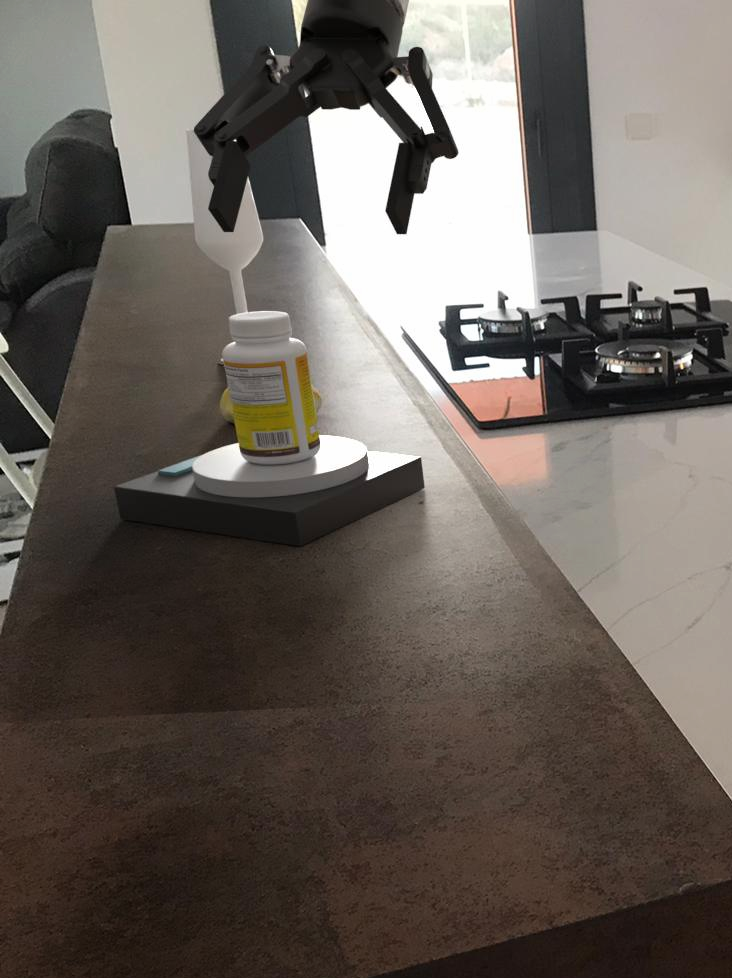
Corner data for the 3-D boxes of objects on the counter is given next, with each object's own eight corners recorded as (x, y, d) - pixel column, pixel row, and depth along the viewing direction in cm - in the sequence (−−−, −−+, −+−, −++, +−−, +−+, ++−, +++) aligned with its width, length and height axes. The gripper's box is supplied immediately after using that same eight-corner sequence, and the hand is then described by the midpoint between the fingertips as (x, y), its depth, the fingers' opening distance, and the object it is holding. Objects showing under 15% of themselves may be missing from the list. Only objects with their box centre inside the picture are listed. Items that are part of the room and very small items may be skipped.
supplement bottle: (295, 441, 97) (274, 305, 93) (337, 454, 94) (316, 314, 90) (225, 457, 93) (200, 316, 89) (266, 472, 90) (242, 326, 86)
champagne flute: (252, 351, 145) (214, 127, 136) (295, 357, 143) (260, 128, 133) (203, 363, 140) (160, 129, 131) (247, 369, 137) (207, 131, 128)
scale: (120, 519, 92) (109, 470, 90) (259, 466, 104) (252, 422, 102) (300, 547, 87) (292, 494, 85) (425, 487, 99) (419, 441, 97)
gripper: (516, 49, 108) (482, 255, 100) (229, 48, 109) (172, 251, 101) (494, -25, 101) (455, 190, 93) (187, -26, 103) (122, 186, 94)
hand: (308, 222), depth 97 cm, fingers open, 13 cm apart
